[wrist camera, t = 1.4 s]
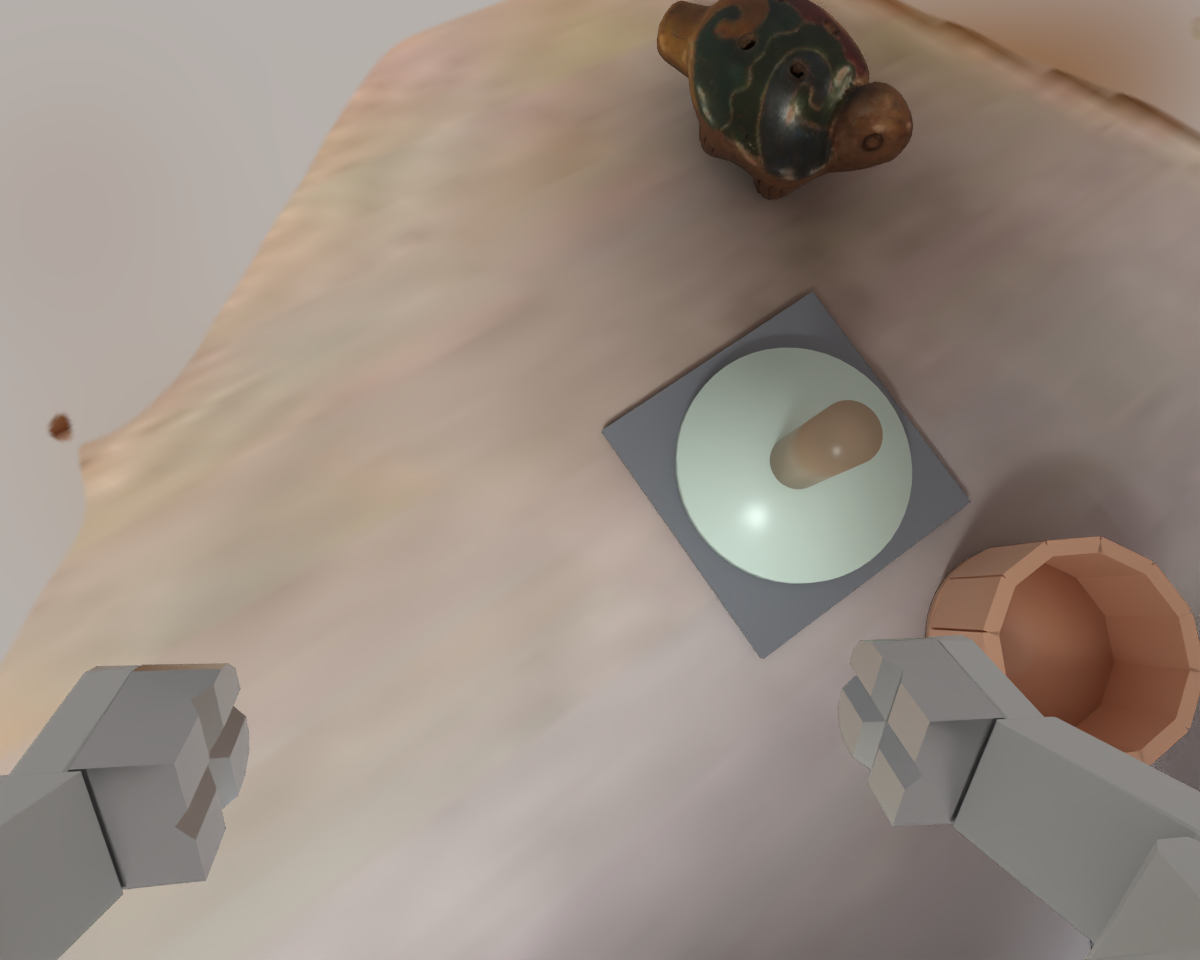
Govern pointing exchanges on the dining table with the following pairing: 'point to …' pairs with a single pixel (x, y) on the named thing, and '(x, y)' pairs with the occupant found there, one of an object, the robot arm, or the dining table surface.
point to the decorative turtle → (782, 90)
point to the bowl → (1082, 636)
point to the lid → (793, 466)
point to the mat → (749, 600)
